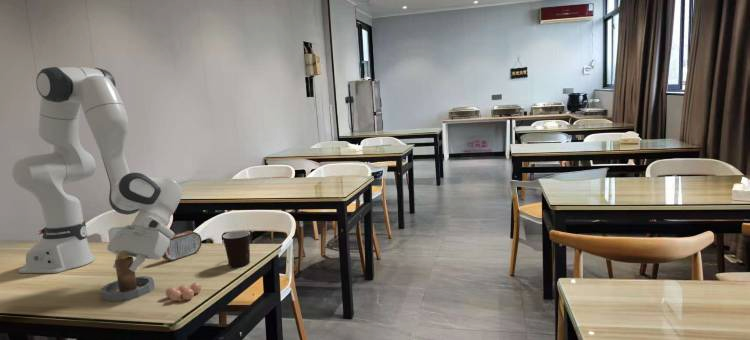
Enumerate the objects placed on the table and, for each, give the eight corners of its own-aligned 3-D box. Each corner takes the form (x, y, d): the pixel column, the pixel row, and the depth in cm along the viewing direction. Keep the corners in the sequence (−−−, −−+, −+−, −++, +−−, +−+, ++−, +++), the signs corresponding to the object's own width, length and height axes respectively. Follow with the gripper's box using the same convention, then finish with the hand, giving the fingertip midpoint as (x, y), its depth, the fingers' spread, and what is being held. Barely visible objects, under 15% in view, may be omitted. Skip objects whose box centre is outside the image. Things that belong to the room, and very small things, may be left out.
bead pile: (160, 304, 131) (159, 293, 130) (171, 293, 138) (169, 282, 138) (194, 301, 131) (193, 290, 130) (203, 290, 138) (202, 280, 138)
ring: (92, 302, 135) (91, 295, 134) (116, 284, 148) (115, 278, 147) (142, 299, 135) (141, 292, 135) (161, 281, 148) (160, 274, 148)
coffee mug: (245, 269, 154) (242, 238, 153) (220, 268, 156) (217, 238, 155) (261, 256, 166) (258, 228, 164) (238, 256, 167) (234, 228, 166)
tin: (199, 250, 178) (196, 227, 177) (204, 251, 176) (201, 228, 175) (160, 263, 166) (157, 239, 165) (165, 264, 164) (162, 240, 163)
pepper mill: (116, 292, 139) (110, 253, 137) (123, 286, 143) (118, 248, 142) (132, 291, 139) (127, 252, 137) (139, 285, 144) (134, 247, 142)
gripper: (117, 219, 149) (91, 261, 142) (164, 223, 140) (139, 268, 133) (132, 230, 154) (107, 270, 147) (178, 234, 145) (155, 278, 138)
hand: (123, 269), depth 140 cm, fingers open, 5 cm apart
